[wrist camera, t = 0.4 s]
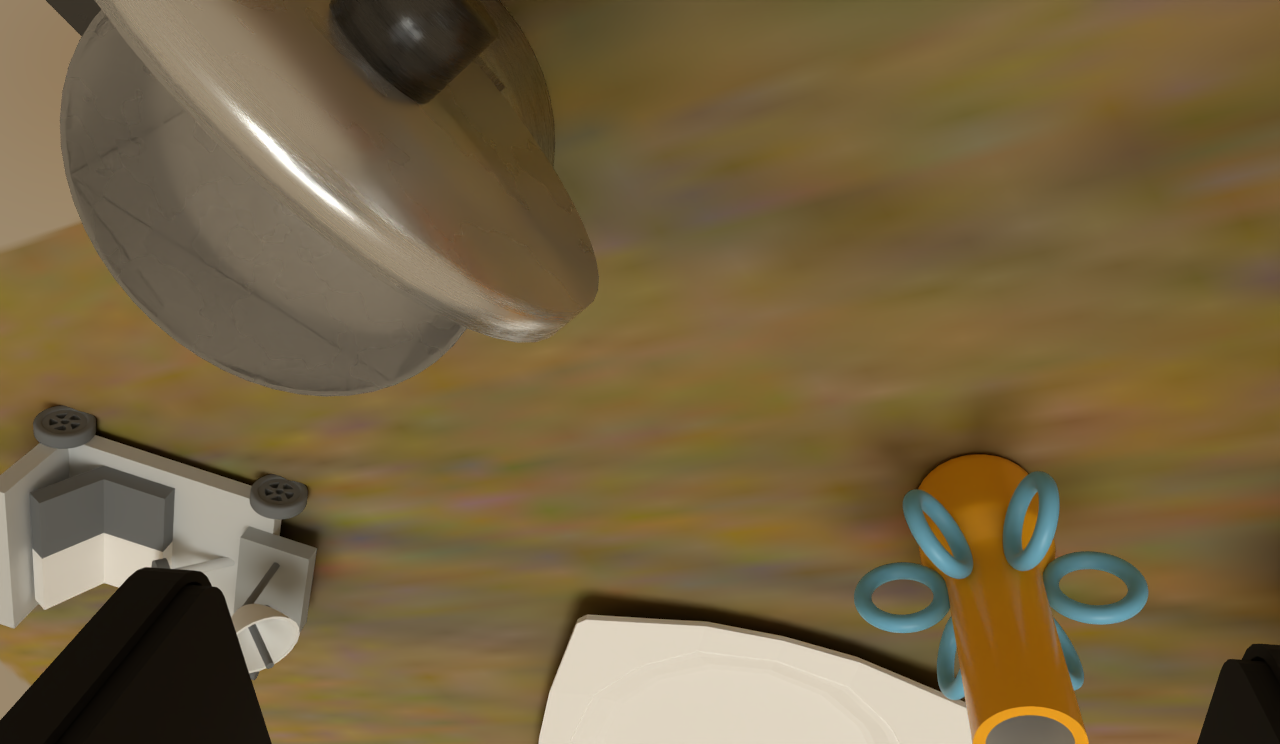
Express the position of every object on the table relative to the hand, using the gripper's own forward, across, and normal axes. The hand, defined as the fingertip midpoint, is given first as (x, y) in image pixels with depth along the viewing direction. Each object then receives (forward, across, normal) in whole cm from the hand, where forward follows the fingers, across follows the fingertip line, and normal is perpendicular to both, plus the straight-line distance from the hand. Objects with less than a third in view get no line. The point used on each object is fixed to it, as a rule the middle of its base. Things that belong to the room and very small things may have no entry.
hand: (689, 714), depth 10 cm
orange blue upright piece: (+36, -10, +23) cm, 43 cm away
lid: (+17, +10, -2) cm, 20 cm away
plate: (+36, +2, +43) cm, 56 cm away
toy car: (+36, +33, +28) cm, 57 cm away
